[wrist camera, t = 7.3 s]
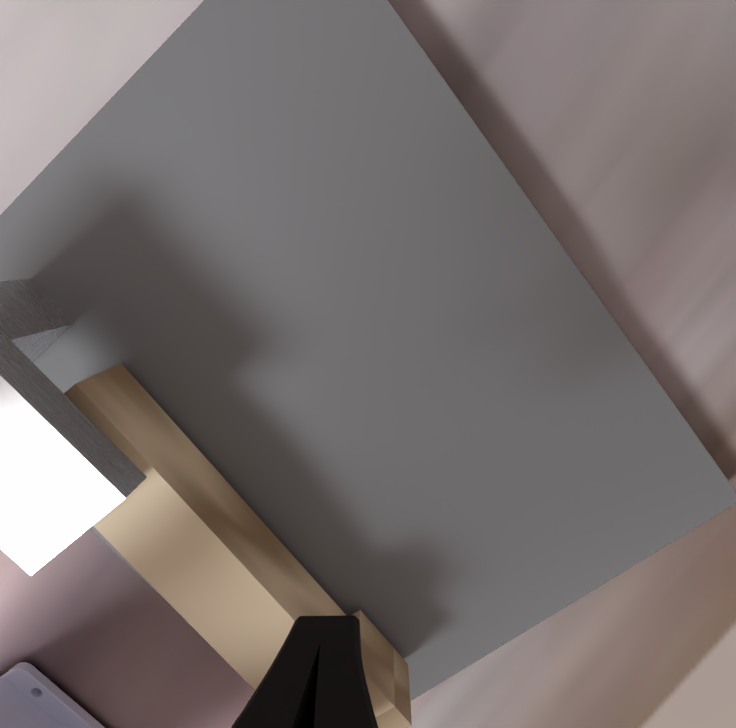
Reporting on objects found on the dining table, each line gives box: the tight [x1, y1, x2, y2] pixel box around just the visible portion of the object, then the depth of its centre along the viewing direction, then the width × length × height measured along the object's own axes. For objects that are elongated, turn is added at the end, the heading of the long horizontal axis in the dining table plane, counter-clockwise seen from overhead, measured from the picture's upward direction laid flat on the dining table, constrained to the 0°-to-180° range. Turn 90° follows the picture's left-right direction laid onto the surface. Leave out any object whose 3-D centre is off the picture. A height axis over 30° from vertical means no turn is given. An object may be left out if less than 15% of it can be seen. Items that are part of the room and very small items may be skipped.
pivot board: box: [0, 0, 736, 701], centre depth 15 cm, size 24×20×6 cm
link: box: [64, 363, 412, 728], centre depth 17 cm, size 16×4×2 cm, turn 37°
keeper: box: [0, 279, 147, 576], centre depth 15 cm, size 8×4×6 cm, turn 39°
